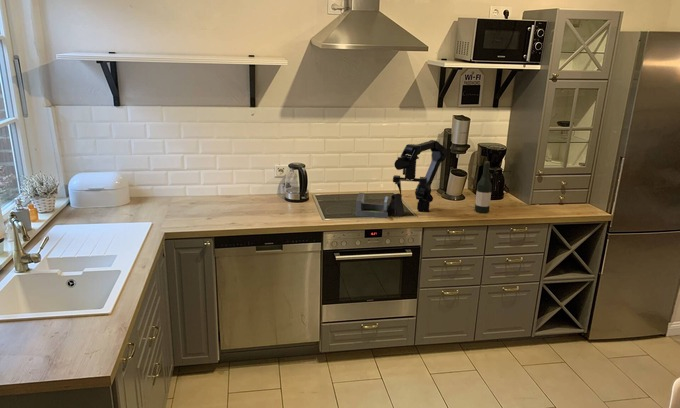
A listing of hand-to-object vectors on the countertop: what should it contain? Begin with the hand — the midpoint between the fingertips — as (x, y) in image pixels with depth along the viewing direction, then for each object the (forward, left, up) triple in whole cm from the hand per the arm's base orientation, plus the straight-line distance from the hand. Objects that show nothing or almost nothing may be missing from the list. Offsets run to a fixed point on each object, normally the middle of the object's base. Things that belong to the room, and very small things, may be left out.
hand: (408, 194), depth 289 cm
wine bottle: (-43, -16, -12) cm, 48 cm away
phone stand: (+7, +1, -12) cm, 14 cm away
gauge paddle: (+13, +4, -12) cm, 17 cm away
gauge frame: (+19, +1, -12) cm, 22 cm away
